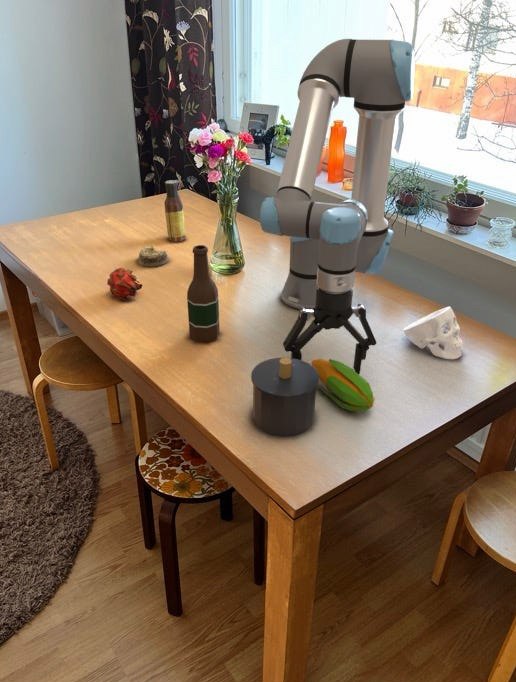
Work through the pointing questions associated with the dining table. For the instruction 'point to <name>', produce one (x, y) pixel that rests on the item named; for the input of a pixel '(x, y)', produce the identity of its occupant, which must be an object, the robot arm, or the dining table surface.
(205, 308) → the beer bottle
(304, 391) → the pot lid
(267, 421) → the pot
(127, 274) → the dragon fruit
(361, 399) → the corn
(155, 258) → the grey rough lump
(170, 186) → the sauce bottle
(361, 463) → the dining table surface
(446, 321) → the skull bowl
